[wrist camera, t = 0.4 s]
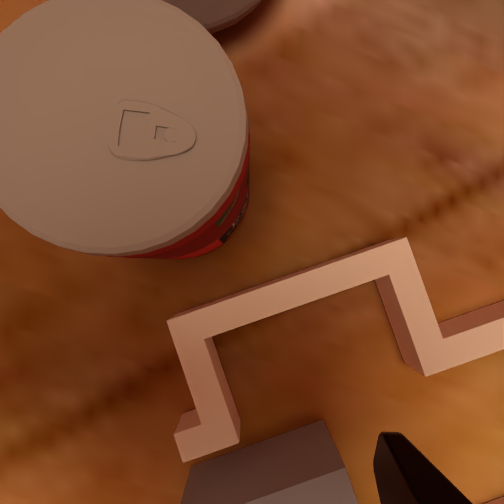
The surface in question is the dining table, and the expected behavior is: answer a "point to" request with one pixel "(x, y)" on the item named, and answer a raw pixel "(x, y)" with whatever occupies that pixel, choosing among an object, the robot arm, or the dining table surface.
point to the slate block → (275, 472)
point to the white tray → (307, 290)
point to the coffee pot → (216, 11)
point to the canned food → (121, 130)
